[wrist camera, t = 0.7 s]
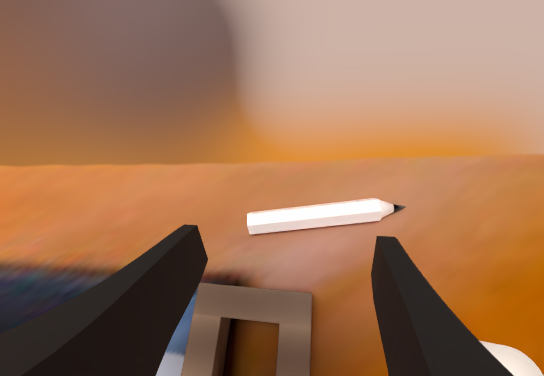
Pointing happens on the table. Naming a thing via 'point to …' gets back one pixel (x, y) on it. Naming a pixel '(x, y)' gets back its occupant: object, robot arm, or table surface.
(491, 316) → the table surface
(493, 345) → the peg
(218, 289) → the brown square frame
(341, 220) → the marker
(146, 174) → the table surface
